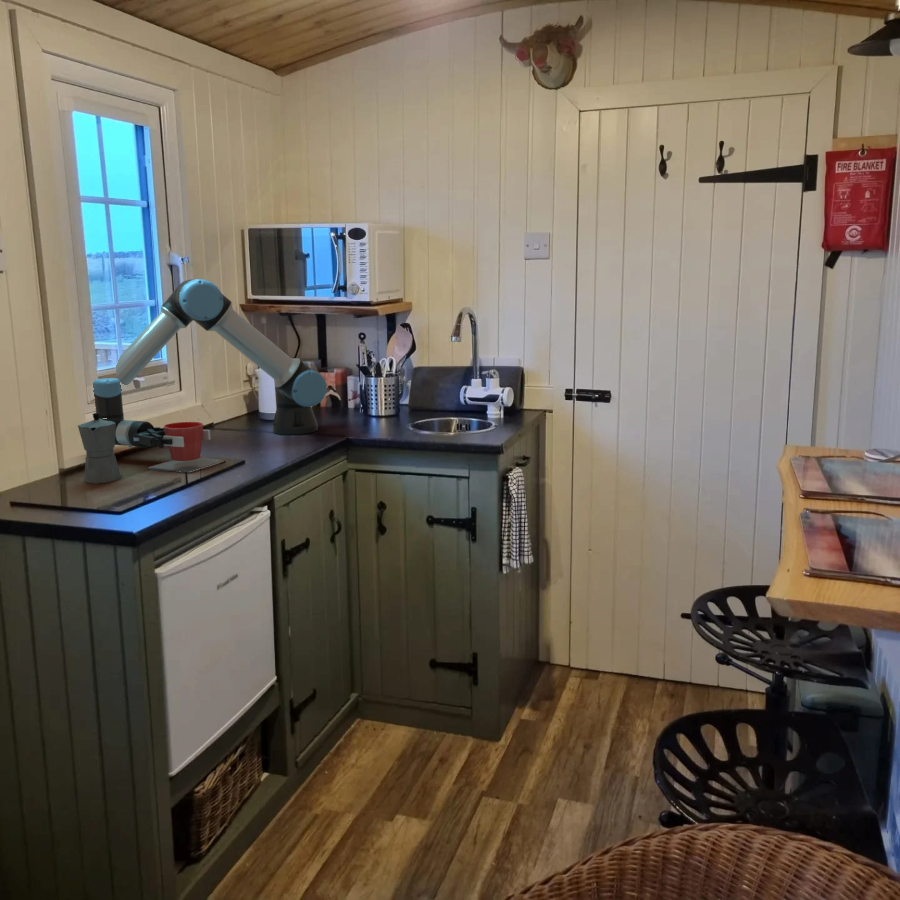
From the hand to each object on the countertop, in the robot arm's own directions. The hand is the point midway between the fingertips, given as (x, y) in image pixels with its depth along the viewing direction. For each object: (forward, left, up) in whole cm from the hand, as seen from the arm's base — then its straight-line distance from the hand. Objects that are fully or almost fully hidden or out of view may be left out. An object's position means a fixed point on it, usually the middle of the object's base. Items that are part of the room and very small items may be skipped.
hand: (196, 438), depth 245 cm
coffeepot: (+20, -15, -8) cm, 27 cm away
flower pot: (0, -4, -6) cm, 8 cm away
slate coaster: (0, -4, -8) cm, 9 cm away
